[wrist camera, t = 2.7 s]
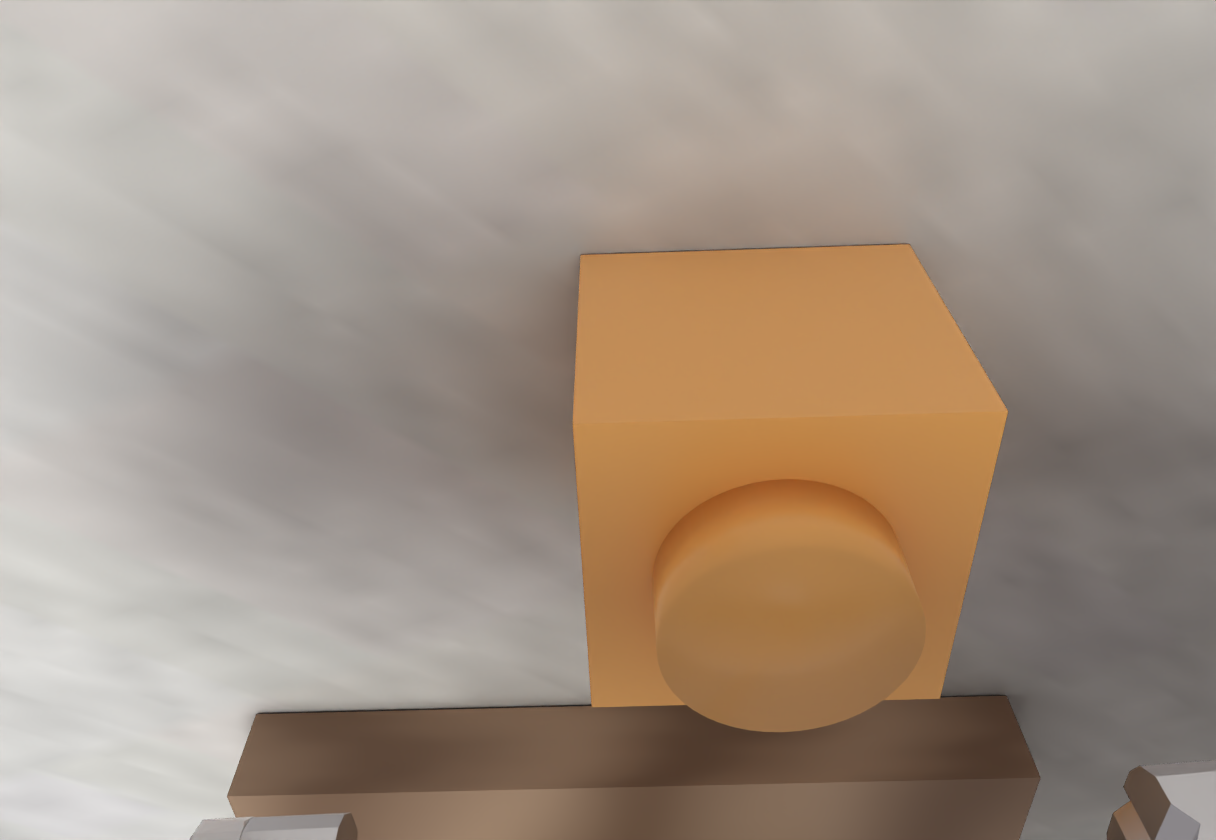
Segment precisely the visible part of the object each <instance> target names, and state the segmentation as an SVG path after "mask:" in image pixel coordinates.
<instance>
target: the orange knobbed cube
mask: <svg viewBox="0 0 1216 840" xmlns="http://www.w3.org/2000/svg"><path fill="white" fill-rule="evenodd" d="M1007 414H1008V410H1007V408H1006V407H1005V405H1004V403H1003V402H1002V400H1001V398H1000V396H999V395H998V393H997V391H996V390H995V388H994V386H993V385H992V383H991V381H990V380H989V378H988V376H987V374H986V373H985V371H984V369H983V368H982V366H981V364H980V363H979V361H978V359H977V358H976V356H975V354H974V353H973V351H972V349H971V347H970V346H969V344H968V342H967V341H966V339H965V337H964V336H963V334H962V332H961V331H960V329H959V327H958V326H957V324H956V322H955V320H954V319H953V317H952V315H951V314H950V312H949V310H948V309H947V307H946V305H945V304H944V302H943V300H942V298H941V297H940V295H939V293H938V292H937V290H936V288H935V287H934V285H933V283H932V282H931V280H930V278H929V277H928V275H927V273H926V271H925V270H924V268H923V266H922V265H921V263H920V261H919V260H918V258H917V256H916V255H915V253H914V251H913V249H912V248H911V246H910V244H898V245H867V246H837V247H806V248H776V249H745V250H714V251H684V252H653V253H623V254H592V255H581V257H580V278H579V299H578V321H577V342H576V363H575V384H574V406H573V437H574V452H575V467H576V482H577V496H578V511H579V526H580V541H581V556H582V571H583V586H584V601H585V615H586V630H587V645H588V660H589V675H590V690H591V705H592V707H626V706H667V705H687V706H688V707H690V708H691V709H693V710H694V711H696V712H697V713H699V714H701V715H703V716H705V717H707V718H709V719H711V720H714V721H716V722H719V723H721V724H725V725H728V726H732V727H735V728H740V729H745V730H751V731H761V732H793V731H802V730H809V729H815V728H819V727H824V726H828V725H832V724H835V723H838V722H841V721H844V720H847V719H849V718H851V717H854V716H856V715H858V714H861V713H862V712H864V711H866V710H868V709H870V708H872V707H874V706H875V705H877V704H878V703H880V702H881V701H883V700H911V699H940V696H941V692H942V688H943V684H944V679H945V675H946V671H947V667H948V663H949V658H950V654H951V650H952V646H953V641H954V637H955V633H956V629H957V625H958V620H959V616H960V612H961V608H962V604H963V599H964V595H965V591H966V587H967V583H968V578H969V574H970V570H971V566H972V561H973V557H974V553H975V549H976V545H977V540H978V536H979V532H980V528H981V524H982V519H983V515H984V511H985V507H986V503H987V498H988V494H989V490H990V486H991V481H992V477H993V473H994V469H995V465H996V460H997V456H998V452H999V448H1000V444H1001V439H1002V435H1003V431H1004V427H1005V423H1006V418H1007Z"/></svg>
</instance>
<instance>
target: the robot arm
mask: <svg viewBox="0 0 1216 840" xmlns="http://www.w3.org/2000/svg"><path fill="white" fill-rule="evenodd" d="M1123 787H1124V789H1125V791H1126V793H1127V795H1128V797H1129V799H1130V801H1129V802H1128V803H1126V804H1125V805H1124V806H1122V807H1121V808H1119V809H1118V810H1117V811H1115V812H1114V813H1113V815H1112V818H1111V821H1110V824H1109V827H1108V831H1107V840H1216V760H1207V761H1194V762H1180V763H1167V764H1154V765H1141V766H1138V767H1136V768H1135V769H1133V770H1131V771H1130V772H1129V774H1128V777H1127V779H1126V781H1125V784H1124V786H1123ZM357 835H358V829H357V826H356V824H355V821H354V819H353V816H352V813H332V814H312V815H291V816H271V817H239V818H223V819H207V820H202V822H201V823H200V825H199V826H198V828H197V829H196V831H195V832H194V833H193V835H192V836H191V838H190V840H357Z"/></svg>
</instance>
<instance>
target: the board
mask: <svg viewBox="0 0 1216 840" xmlns="http://www.w3.org/2000/svg"><path fill="white" fill-rule="evenodd" d="M1039 781H1040V775H1039V773H1038V770H1037V768H1036V766H1035V763H1034V761H1033V758H1032V756H1031V753H1030V751H1029V749H1028V746H1027V744H1026V741H1025V739H1024V737H1023V734H1022V732H1021V729H1020V727H1019V725H1018V722H1017V720H1016V717H1015V715H1014V713H1013V710H1012V708H1011V705H1010V703H1009V701H1008V698H1007V696H977V697H940V699H911V700H883V701H881V702H880V703H878V704H877V705H875V706H874V707H872V708H870V709H868V710H866V711H864V712H862V713H861V714H858V715H856V716H854V717H851V718H849V719H847V720H844V721H841V722H838V723H835V724H832V725H828V726H824V727H819V728H815V729H809V730H802V731H793V732H761V731H751V730H745V729H740V728H735V727H732V726H728V725H725V724H721V723H719V722H716V721H714V720H711V719H709V718H707V717H705V716H703V715H701V714H699V713H697V712H696V711H694V710H693V709H691V708H690V707H688V706H687V705H667V706H626V707H592V706H569V707H528V708H487V709H447V710H406V711H365V712H324V713H283V714H256V716H255V719H254V722H253V725H252V727H251V730H250V733H249V736H248V739H247V741H246V744H245V747H244V750H243V753H242V756H241V758H240V761H239V764H238V767H237V770H236V772H235V775H234V778H233V781H232V784H231V787H230V789H229V792H228V795H227V798H228V800H229V802H230V805H231V807H232V810H233V812H234V814H235V817H236V818H239V817H271V816H291V815H312V814H332V813H352V816H353V819H354V821H355V824H356V826H357V829H358V835H357V840H1019V838H1020V835H1021V832H1022V829H1023V827H1024V824H1025V821H1026V818H1027V815H1028V812H1029V809H1030V807H1031V804H1032V801H1033V798H1034V795H1035V792H1036V789H1037V786H1038V784H1039Z"/></svg>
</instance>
